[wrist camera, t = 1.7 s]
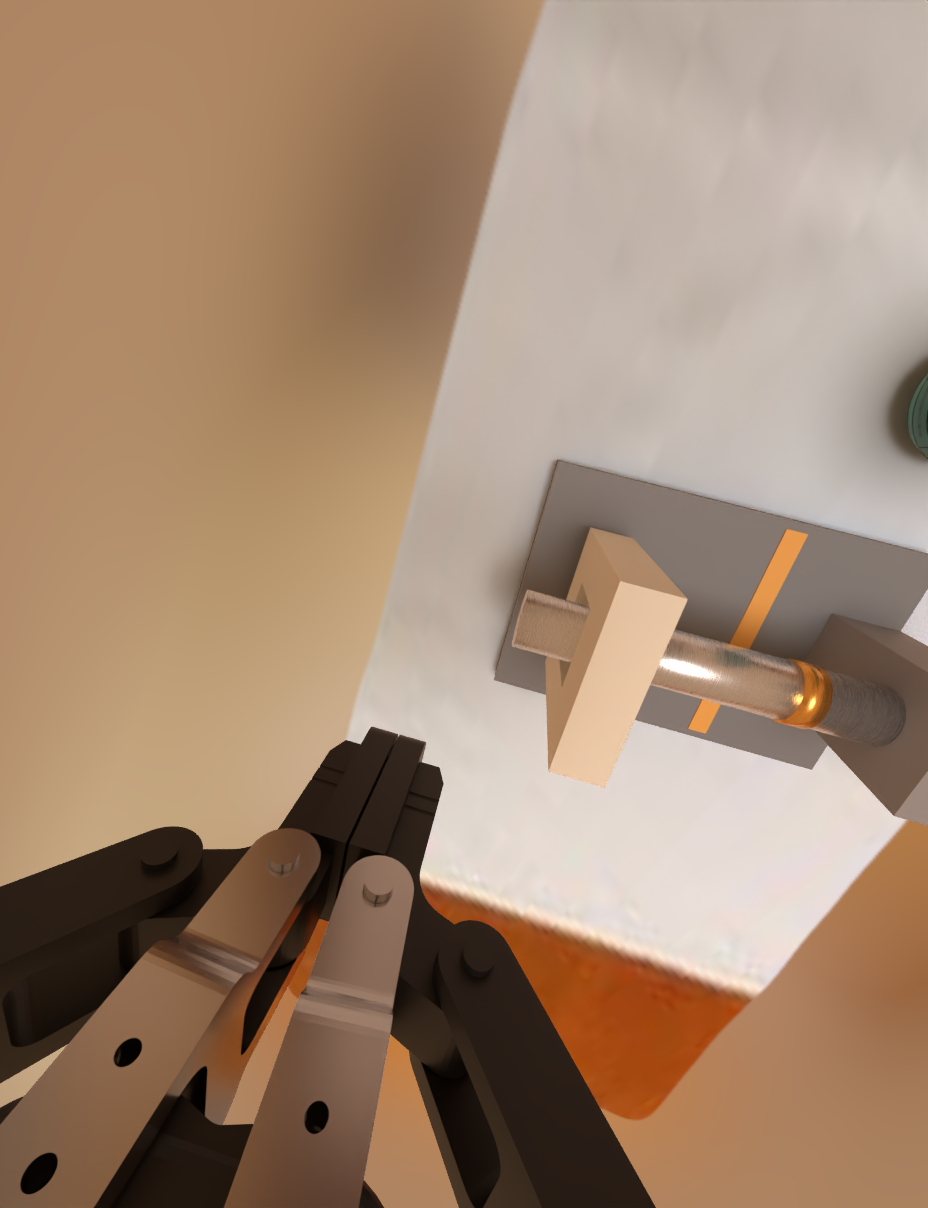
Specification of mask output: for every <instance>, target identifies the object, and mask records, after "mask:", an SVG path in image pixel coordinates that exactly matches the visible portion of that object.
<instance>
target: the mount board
mask: <svg viewBox="0 0 928 1208" xmlns="http://www.w3.org/2000/svg"><path fill="white" fill-rule="evenodd" d="M590 527H592V528H595V529H599V530H603V531H607V532H611V533H615V534H619V535H622V536H626V537H630V538H633V539H634V540H635V541H636V542H637V543H638V544H639V545H640V546H641V548H642V549H643V550H644V551H645V552H646V553H647V554H648V555H649V556H650V558H651V559H652V560H653V561H654V562H655V563H656V564H657V565H658V566H659V568H660V569H661V570H662V571H663V572H664V573H665V574H666V575H667V576H668V578H669V579H670V580H671V581H672V582H673V583H674V584H675V585H676V586H677V588H678V589H679V590H680V591H681V592H682V593H683V594H684V595H685V596H686V598H687V599H688V600H687V602H686V605H685V607H684V609H683V611H682V614H681V616H680V618H679V621H678V623H677V625H676V627H675V629H676V630H679V631H683V632H687V633H690V634H694V635H698V636H701V637H705V638H709V639H713V640H716V641H720V642H724V643H727V644H731V645H735V646H739V647H742V648H746V649H750V650H753V651H757V652H761V653H764V654H768V655H772V656H776V657H779V658H783V659H794V660H798V661H802V662H806V663H809V664H813V665H817V666H820V667H822V668H823V669H825V670H827V671H831V672H835V673H838V674H842V675H846V676H850V677H853V678H857V679H861V680H864V681H868V682H872V683H875V684H879V685H883V686H887V687H890V688H892V689H894V690H895V691H896V692H898V693H899V695H900V696H901V697H902V699H903V701H904V704H905V708H906V720H905V724H904V727H903V730H902V731H901V733H900V735H899V736H898V737H897V738H896V739H895V740H894V741H893V742H891V743H890V744H888V745H885V746H882V747H873V746H869V745H865V744H862V743H858V742H854V741H851V740H847V739H844V738H840V737H836V736H833V735H829V734H826V733H822V732H818V731H815V730H811V729H800V728H796V727H793V726H789V725H786V724H782V723H778V722H775V721H773V720H771V719H770V718H768V717H764V716H761V715H757V714H754V713H750V712H746V711H743V710H739V709H736V708H732V707H728V706H725V705H721V704H718V703H714V702H710V701H707V700H703V699H700V698H696V697H692V696H689V695H685V694H682V693H678V692H674V691H671V690H667V689H664V688H660V687H656V686H653V685H650V686H649V689H648V691H647V693H646V695H645V698H644V700H643V702H642V704H641V707H640V709H639V711H638V714H637V716H636V718H635V720H638V721H641V722H645V723H648V724H652V725H655V726H659V727H662V728H666V729H669V730H673V731H677V732H680V733H684V734H687V735H691V736H694V737H698V738H701V739H705V740H708V741H712V742H715V743H719V744H723V745H726V746H730V747H733V748H737V749H740V750H744V751H747V752H751V753H754V754H758V755H761V756H765V757H769V758H772V759H776V760H779V761H783V762H786V763H790V764H793V765H797V766H800V767H804V768H808V769H811V770H812V769H813V767H814V765H815V764H816V762H817V761H818V759H819V758H820V756H821V754H822V753H823V751H824V750H825V748H826V747H827V745H828V746H829V747H830V748H831V749H832V750H833V751H834V752H835V753H836V754H837V755H838V756H839V757H840V758H841V760H842V761H843V762H844V763H845V764H846V765H847V766H848V767H849V768H850V769H851V770H852V771H853V772H854V774H855V775H856V776H857V777H858V778H859V779H860V780H861V781H862V782H863V783H864V784H865V785H866V786H867V788H868V789H869V790H870V791H871V792H872V793H873V794H874V795H875V796H876V797H877V798H878V799H879V800H880V802H881V803H882V804H883V805H884V806H885V807H886V808H887V809H888V810H889V811H890V812H891V813H892V814H893V816H896V817H900V818H903V819H907V820H910V821H914V822H917V823H921V824H924V825H928V646H926V645H924V644H923V643H921V642H919V641H917V640H915V639H913V638H912V637H910V636H908V635H906V634H904V633H902V632H901V630H902V628H903V626H904V625H905V623H906V622H907V620H908V619H909V617H910V615H911V614H912V612H913V611H914V609H915V608H916V606H917V605H918V603H919V601H920V600H921V598H922V597H923V595H924V594H925V592H926V590H927V589H928V554H927V553H923V552H919V551H915V550H911V549H907V548H903V547H899V546H895V545H891V544H887V543H884V542H880V541H876V540H872V539H868V538H864V537H860V536H856V535H852V534H848V533H844V532H840V531H836V530H832V529H828V528H824V527H820V526H816V525H812V524H808V523H805V522H801V521H797V520H793V519H789V518H785V517H781V516H777V515H773V514H769V513H765V512H761V511H757V510H753V509H749V508H745V507H741V506H737V505H733V504H729V503H726V502H722V501H718V500H714V499H710V498H706V497H702V496H698V495H694V494H690V493H686V492H682V491H678V490H674V489H670V488H666V487H662V486H658V485H654V484H650V483H647V482H643V481H639V480H635V479H631V478H627V477H623V476H619V475H615V474H611V473H607V472H603V471H599V470H595V469H591V468H587V467H583V466H579V465H575V464H571V463H568V462H564V461H560V460H558V461H557V464H556V468H555V471H554V474H553V478H552V481H551V485H550V488H549V491H548V495H547V498H546V502H545V505H544V508H543V512H542V515H541V519H540V522H539V525H538V529H537V532H536V536H535V539H534V542H533V546H532V549H531V553H530V556H529V559H528V563H527V566H526V569H525V573H524V576H523V580H522V583H521V586H520V590H519V593H518V597H517V600H516V603H515V607H514V610H513V614H512V617H511V620H510V624H509V627H508V631H507V634H506V637H505V641H504V644H503V648H502V651H501V654H500V658H499V661H498V665H497V668H496V672H495V678H494V680H496V681H500V682H503V683H507V684H510V685H514V686H517V687H521V688H524V689H528V690H531V691H535V692H538V693H542V694H546V669H545V661H546V658H547V656H545V655H541V654H538V653H534V652H530V651H527V650H523V649H520V648H516V647H512V640H513V635H514V631H515V627H516V623H517V619H518V616H519V612H520V609H521V605H522V602H523V599H524V596H525V593H526V591H527V590H531V591H535V592H539V593H542V594H546V595H550V596H553V597H557V598H561V599H565V600H566V598H567V595H568V592H569V590H570V587H571V584H572V581H573V578H574V575H575V572H576V569H577V566H578V563H579V560H580V557H581V554H582V551H583V548H584V545H585V542H586V539H587V536H588V533H589V530H590Z"/></svg>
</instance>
